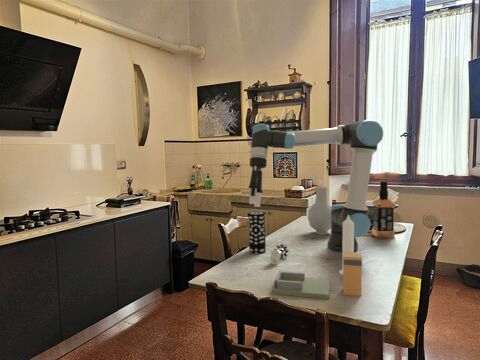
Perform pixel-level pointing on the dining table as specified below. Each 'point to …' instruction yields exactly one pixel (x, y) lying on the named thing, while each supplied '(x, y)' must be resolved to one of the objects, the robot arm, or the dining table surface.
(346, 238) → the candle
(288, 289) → the mounting board
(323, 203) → the vase
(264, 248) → the white-spotted black cylinder
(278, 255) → the valve
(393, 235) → the whiskey bottle
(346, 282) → the orange box
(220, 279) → the dining table surface
